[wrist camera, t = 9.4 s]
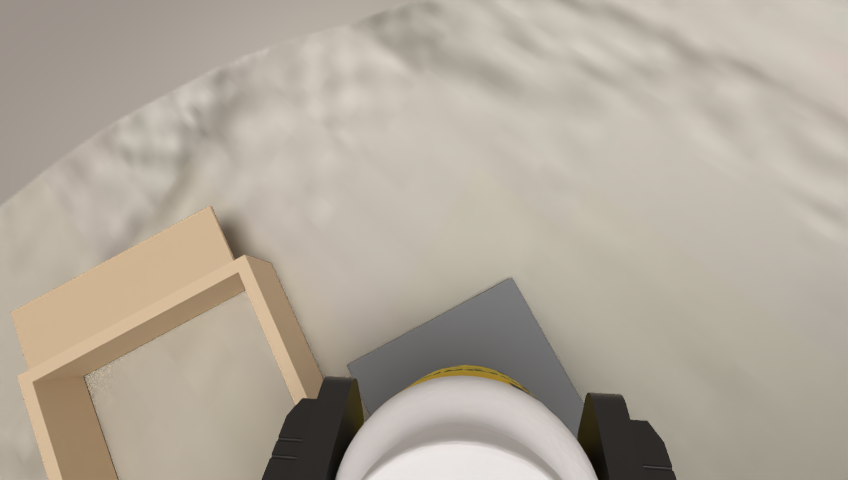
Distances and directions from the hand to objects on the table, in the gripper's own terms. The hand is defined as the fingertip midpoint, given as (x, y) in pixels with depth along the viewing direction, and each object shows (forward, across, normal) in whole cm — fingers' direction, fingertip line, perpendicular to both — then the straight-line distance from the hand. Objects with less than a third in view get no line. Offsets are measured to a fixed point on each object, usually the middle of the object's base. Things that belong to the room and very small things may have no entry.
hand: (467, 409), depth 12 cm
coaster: (+7, 0, +10) cm, 12 cm away
